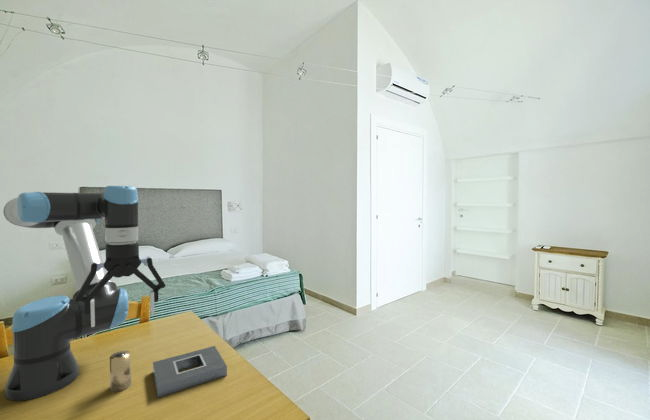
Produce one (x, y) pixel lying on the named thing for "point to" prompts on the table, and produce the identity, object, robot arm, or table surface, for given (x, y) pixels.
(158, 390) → the plate
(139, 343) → the table surface
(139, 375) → the table surface
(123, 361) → the brass domed cylinder
